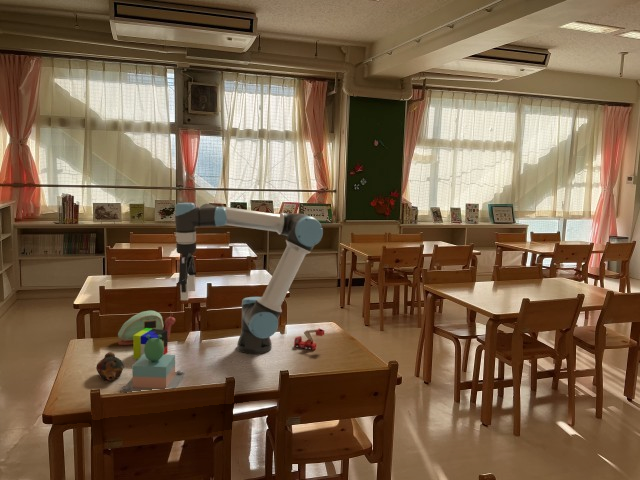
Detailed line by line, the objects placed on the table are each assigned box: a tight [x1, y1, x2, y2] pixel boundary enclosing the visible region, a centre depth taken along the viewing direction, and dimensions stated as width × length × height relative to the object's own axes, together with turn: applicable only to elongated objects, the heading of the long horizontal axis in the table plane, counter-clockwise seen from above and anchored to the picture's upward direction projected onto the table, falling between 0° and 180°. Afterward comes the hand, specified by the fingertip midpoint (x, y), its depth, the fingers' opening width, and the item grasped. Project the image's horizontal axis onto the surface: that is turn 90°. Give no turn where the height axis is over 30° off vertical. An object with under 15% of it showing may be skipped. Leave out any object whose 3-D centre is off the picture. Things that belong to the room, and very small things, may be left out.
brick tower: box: [120, 354, 186, 392], centre depth 195 cm, size 18×18×9 cm
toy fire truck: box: [293, 328, 325, 351], centre depth 237 cm, size 3×14×10 cm, turn 68°
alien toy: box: [144, 335, 164, 361], centre depth 194 cm, size 7×8×10 cm
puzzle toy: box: [132, 328, 169, 360], centre depth 222 cm, size 10×10×10 cm
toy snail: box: [117, 310, 176, 346], centre depth 239 cm, size 25×8×14 cm, turn 116°
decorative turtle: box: [96, 351, 125, 381], centre depth 199 cm, size 10×15×8 cm, turn 28°
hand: (188, 295), depth 210 cm, fingers open, 13 cm apart
